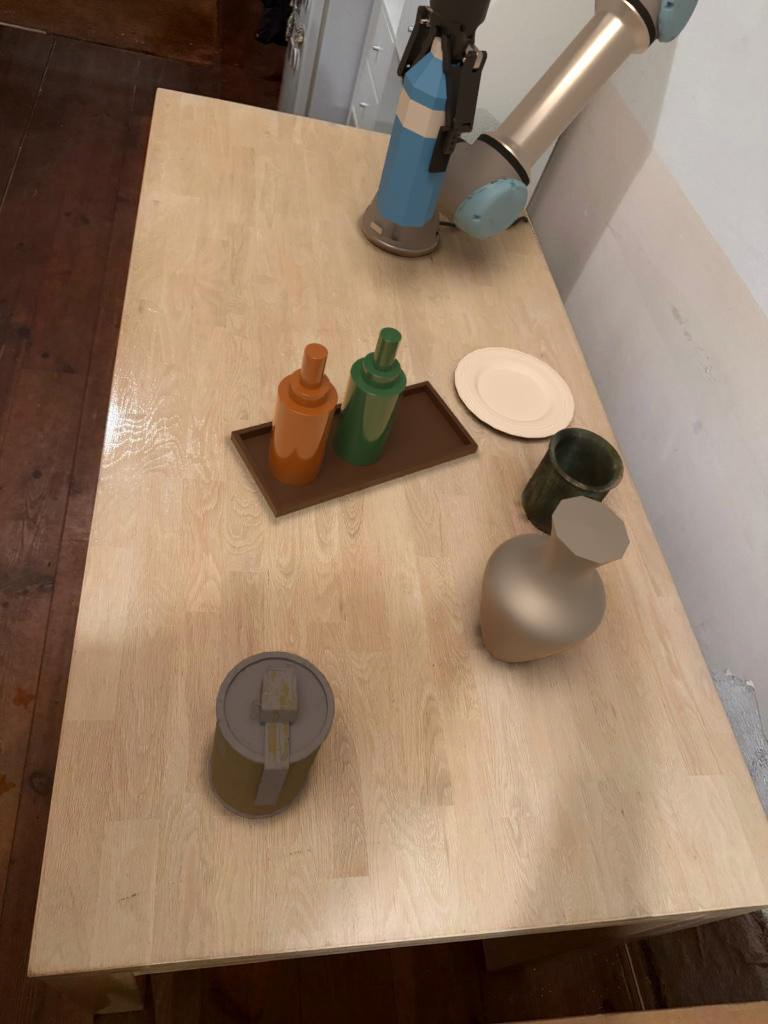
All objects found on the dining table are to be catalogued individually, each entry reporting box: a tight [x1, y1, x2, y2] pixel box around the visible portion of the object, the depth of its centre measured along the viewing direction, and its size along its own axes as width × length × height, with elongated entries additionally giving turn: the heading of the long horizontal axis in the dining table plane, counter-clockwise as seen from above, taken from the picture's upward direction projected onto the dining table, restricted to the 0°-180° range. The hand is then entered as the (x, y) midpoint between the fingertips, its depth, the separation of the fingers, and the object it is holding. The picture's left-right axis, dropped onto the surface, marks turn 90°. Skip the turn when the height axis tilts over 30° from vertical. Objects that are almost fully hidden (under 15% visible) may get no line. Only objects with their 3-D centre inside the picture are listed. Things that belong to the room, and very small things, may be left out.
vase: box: [479, 496, 631, 664], centre depth 85 cm, size 14×14×25 cm
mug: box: [521, 427, 625, 535], centre depth 105 cm, size 11×15×12 cm
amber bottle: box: [267, 342, 339, 486], centre depth 96 cm, size 8×8×21 cm
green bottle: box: [333, 326, 408, 466], centre depth 100 cm, size 8×8×21 cm
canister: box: [208, 650, 336, 820], centre depth 71 cm, size 11×10×20 cm
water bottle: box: [375, 37, 460, 227], centre depth 108 cm, size 9×9×25 cm
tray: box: [230, 380, 479, 518], centre depth 108 cm, size 34×15×2 cm, turn 121°
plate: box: [454, 346, 576, 439], centre depth 123 cm, size 21×21×2 cm
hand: (419, 152), depth 111 cm, fingers closed on water bottle, 9 cm apart
